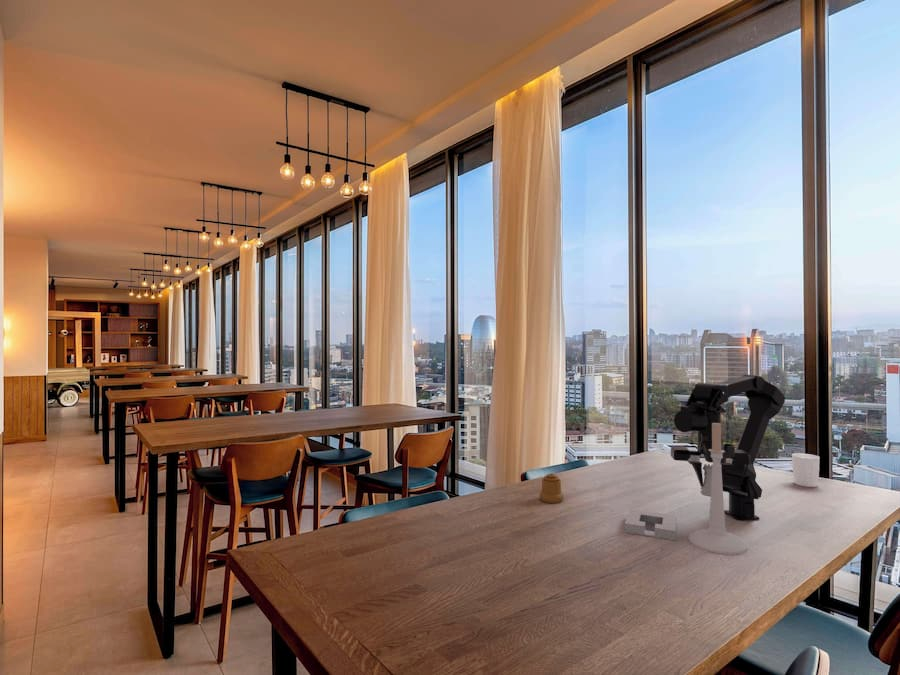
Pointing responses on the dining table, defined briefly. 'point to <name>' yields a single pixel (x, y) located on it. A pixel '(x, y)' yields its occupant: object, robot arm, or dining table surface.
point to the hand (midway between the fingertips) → (709, 486)
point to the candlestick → (717, 510)
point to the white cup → (805, 469)
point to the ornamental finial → (551, 489)
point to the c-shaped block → (651, 524)
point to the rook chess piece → (707, 480)
